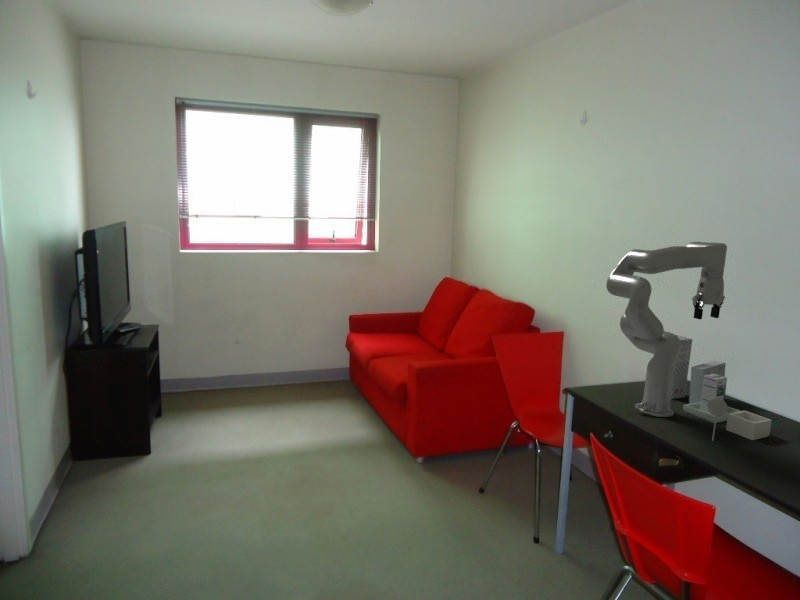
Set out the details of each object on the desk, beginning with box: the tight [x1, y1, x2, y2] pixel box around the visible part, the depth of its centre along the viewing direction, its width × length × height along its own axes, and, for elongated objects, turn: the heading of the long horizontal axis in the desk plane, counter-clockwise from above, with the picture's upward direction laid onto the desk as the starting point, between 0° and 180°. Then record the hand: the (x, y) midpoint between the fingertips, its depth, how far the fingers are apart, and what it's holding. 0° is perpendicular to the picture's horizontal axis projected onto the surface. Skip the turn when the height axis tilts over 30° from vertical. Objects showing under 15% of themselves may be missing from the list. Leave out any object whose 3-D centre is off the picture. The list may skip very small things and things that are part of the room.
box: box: [671, 334, 693, 400], centre depth 231 cm, size 8×8×25 cm
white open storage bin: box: [725, 410, 773, 441], centre depth 195 cm, size 10×10×6 cm
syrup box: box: [700, 374, 728, 415], centre depth 211 cm, size 6×6×14 cm
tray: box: [682, 402, 741, 424], centre depth 212 cm, size 16×13×2 cm
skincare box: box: [688, 360, 726, 404], centre depth 226 cm, size 21×5×16 cm, turn 128°
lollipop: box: [708, 398, 728, 442], centre depth 185 cm, size 6×6×15 cm
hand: (706, 318), depth 215 cm, fingers open, 9 cm apart
